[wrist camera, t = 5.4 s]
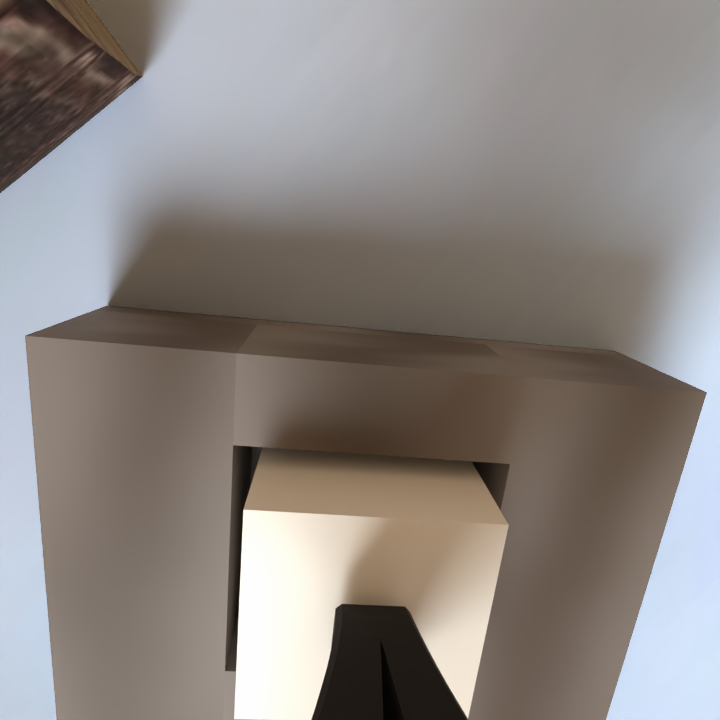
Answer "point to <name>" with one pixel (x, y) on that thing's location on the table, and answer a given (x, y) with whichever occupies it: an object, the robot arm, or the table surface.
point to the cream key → (359, 567)
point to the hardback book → (52, 77)
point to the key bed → (345, 435)
